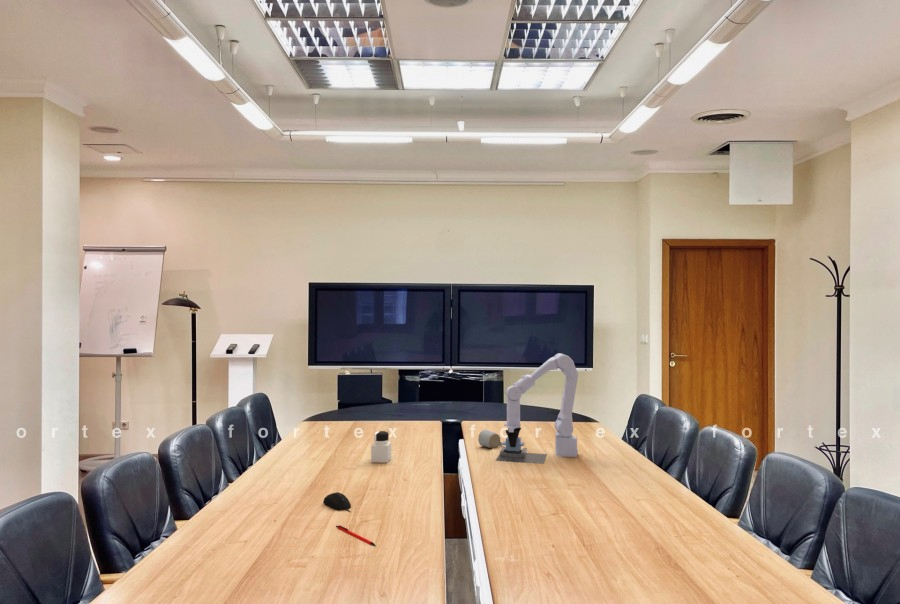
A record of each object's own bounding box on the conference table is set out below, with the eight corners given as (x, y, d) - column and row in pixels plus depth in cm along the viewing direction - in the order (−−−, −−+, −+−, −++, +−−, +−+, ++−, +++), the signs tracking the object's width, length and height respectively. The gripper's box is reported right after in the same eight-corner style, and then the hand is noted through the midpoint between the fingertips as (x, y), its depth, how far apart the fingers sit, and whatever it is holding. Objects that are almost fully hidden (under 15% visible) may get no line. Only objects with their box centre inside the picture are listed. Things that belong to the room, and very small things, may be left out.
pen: (337, 527, 166) (337, 523, 166) (377, 546, 152) (376, 542, 152) (335, 528, 165) (335, 524, 165) (374, 547, 151) (374, 543, 151)
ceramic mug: (490, 450, 255) (490, 433, 255) (477, 447, 261) (478, 430, 262) (506, 447, 262) (506, 430, 262) (494, 443, 268) (494, 427, 268)
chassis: (547, 456, 245) (547, 449, 245) (543, 465, 230) (543, 458, 230) (501, 453, 250) (501, 446, 250) (495, 462, 235) (495, 455, 235)
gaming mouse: (342, 515, 175) (342, 502, 175) (319, 503, 186) (319, 491, 186) (359, 511, 179) (359, 498, 179) (336, 499, 190) (336, 487, 190)
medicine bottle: (391, 458, 241) (391, 430, 241) (387, 462, 234) (387, 433, 234) (374, 458, 242) (374, 429, 242) (370, 462, 235) (370, 433, 235)
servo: (524, 449, 245) (524, 436, 245) (523, 451, 241) (523, 437, 241) (503, 448, 247) (503, 434, 248) (502, 450, 244) (502, 436, 244)
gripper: (506, 410, 253) (506, 441, 252) (501, 416, 238) (501, 449, 238) (522, 411, 251) (522, 442, 251) (518, 417, 237) (518, 450, 237)
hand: (513, 445), depth 244 cm, fingers closed on servo, 4 cm apart
